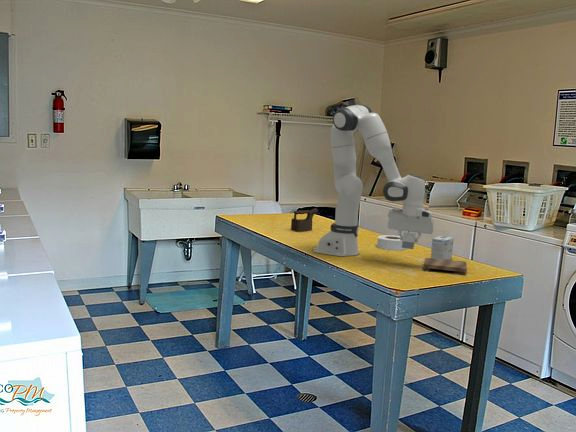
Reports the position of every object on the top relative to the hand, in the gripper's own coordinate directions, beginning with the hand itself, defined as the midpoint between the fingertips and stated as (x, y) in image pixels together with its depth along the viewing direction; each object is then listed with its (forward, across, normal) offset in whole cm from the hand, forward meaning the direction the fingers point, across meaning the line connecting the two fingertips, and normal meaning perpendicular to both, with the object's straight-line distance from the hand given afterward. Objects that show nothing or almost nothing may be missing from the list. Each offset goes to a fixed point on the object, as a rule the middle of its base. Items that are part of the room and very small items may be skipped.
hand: (408, 241), depth 242 cm
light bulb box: (+11, +15, +20) cm, 28 cm away
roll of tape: (+12, -10, +38) cm, 41 cm away
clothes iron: (+13, -65, +65) cm, 93 cm away
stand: (+10, +17, -1) cm, 20 cm away
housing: (+3, 0, 0) cm, 3 cm away
